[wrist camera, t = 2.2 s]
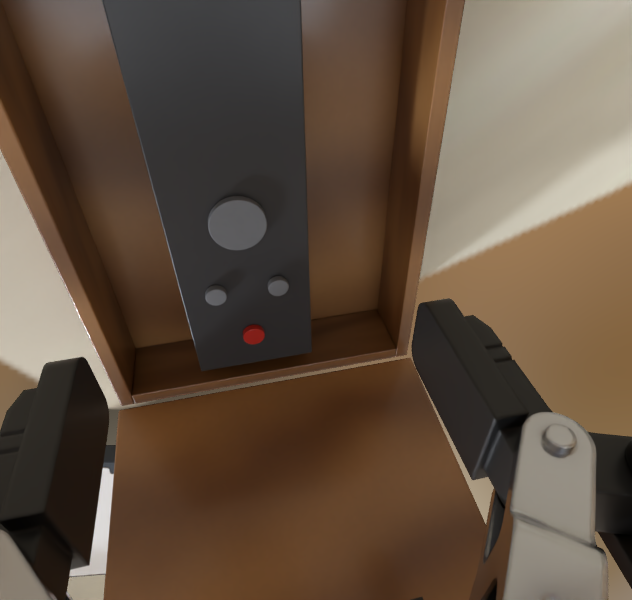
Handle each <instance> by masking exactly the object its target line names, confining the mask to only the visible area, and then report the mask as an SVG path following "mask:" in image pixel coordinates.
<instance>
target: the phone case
mask: <svg viewBox="0 0 632 600" xmlns="http://www.w3.org/2000/svg"><path fill="white" fill-rule="evenodd" d="M115 451H116V445H106V448H105V456H104V463H103V470H102V478H101V485H100V492H99V499H98V507H97V514H96V521H95V529H94V536H93V543H92V550H91V558H90V565H89V566H85V567H80V568H76V569H72V570H70V574H69V577H79V576H92V575H105V574H106V563H107V551H108V538H109V526H110V514H111V501H112V489H113V476H114V464H115Z"/></svg>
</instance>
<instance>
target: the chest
mask: <svg viewBox="0 0 632 600" xmlns="http://www.w3.org/2000/svg"><path fill="white" fill-rule="evenodd" d="M464 2H465V0H301V18H302V51H303V83H304V115H305V147H306V179H307V211H308V243H309V275H310V307H311V340H312V352H310V353H304V354H299V355H293V356H287V357H281V358H276V359H270V360H264V361H258V362H252V363H247V364H241V365H235V366H229V367H224V368H218V369H212V370H206V371H201V368H200V364H199V361H198V357H197V353H196V349H195V346H194V342H193V338H192V335H191V331H190V327H189V323H188V320H187V316H186V312H185V308H184V305H183V301H182V297H181V293H180V290H179V286H178V282H177V279H176V275H175V271H174V267H173V264H172V260H171V256H170V252H169V249H168V245H167V241H166V237H165V234H164V230H163V226H162V223H161V219H160V215H159V211H158V208H157V204H156V200H155V196H154V193H153V189H152V185H151V182H150V178H149V174H148V170H147V167H146V163H145V159H144V155H143V152H142V148H141V144H140V140H139V137H138V133H137V129H136V126H135V122H134V118H133V114H132V111H131V107H130V103H129V99H128V96H127V92H126V88H125V84H124V81H123V77H122V73H121V70H120V66H119V62H118V58H117V55H116V51H115V47H114V43H113V40H112V36H111V32H110V28H109V25H108V21H107V17H106V14H105V10H104V6H103V2H102V0H0V149H1V151H2V153H3V156H4V158H5V160H6V162H7V164H8V166H9V168H10V170H11V173H12V175H13V177H14V179H15V181H16V183H17V185H18V187H19V189H20V192H21V194H22V196H23V198H24V200H25V202H26V204H27V206H28V209H29V211H30V213H31V215H32V217H33V219H34V221H35V223H36V225H37V228H38V230H39V232H40V234H41V236H42V238H43V240H44V242H45V245H46V247H47V249H48V251H49V253H50V255H51V257H52V259H53V261H54V264H55V266H56V268H57V270H58V272H59V274H60V276H61V278H62V281H63V283H64V285H65V287H66V289H67V291H68V293H69V295H70V297H71V300H72V302H73V304H74V306H75V308H76V310H77V312H78V314H79V317H80V319H81V321H82V323H83V325H84V327H85V329H86V331H87V333H88V336H89V338H90V340H91V342H92V344H93V346H94V348H95V350H96V353H97V355H98V357H99V359H100V361H101V363H102V365H103V367H104V369H105V372H106V374H107V376H108V378H109V380H110V382H111V384H112V386H113V389H114V391H115V393H116V395H117V397H118V399H119V401H120V403H121V405H122V406H124V405H130V404H134V403H141V402H147V401H153V400H158V399H164V398H169V397H175V396H180V395H185V394H191V393H197V392H203V391H208V390H214V389H219V388H224V387H230V386H236V385H242V384H247V383H253V382H258V381H264V380H269V379H275V378H280V377H286V376H292V375H297V374H303V373H308V372H314V371H319V370H325V369H330V368H336V367H341V366H347V365H353V364H358V363H364V362H369V361H375V360H381V359H386V358H391V357H395V356H396V357H397V356H403V355H407V350H408V343H409V338H410V332H411V326H412V320H413V313H414V307H415V301H416V295H417V289H418V283H419V277H420V271H421V265H422V259H423V253H424V246H425V240H426V234H427V228H428V222H429V216H430V210H431V204H432V198H433V192H434V185H435V179H436V173H437V167H438V161H439V155H440V149H441V143H442V137H443V131H444V124H445V118H446V112H447V106H448V100H449V94H450V88H451V82H452V76H453V70H454V63H455V57H456V51H457V45H458V39H459V33H460V27H461V21H462V15H463V9H464Z"/></svg>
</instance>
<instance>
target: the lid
mask: <svg viewBox="0 0 632 600" xmlns="http://www.w3.org/2000/svg"><path fill="white" fill-rule="evenodd" d="M485 529H486V524H485V522H484V520H483V518H482V515H481V513H480V511H479V509H478V507H477V504H476V502H475V500H474V498H473V495H472V493H471V491H470V489H469V487H468V484H467V482H466V480H465V477H464V475H463V473H462V471H461V469H460V466H459V464H458V462H457V460H456V457H455V455H454V453H453V451H452V449H451V446H450V444H449V442H448V440H447V437H446V435H445V433H444V431H443V428H442V427H441V424H440V422H439V420H438V417H437V415H436V413H435V411H434V409H433V406H432V404H431V402H430V400H429V398H428V395H427V393H426V391H425V388H424V386H423V384H422V382H421V380H420V378H419V375H418V373H417V371H416V368H415V366H414V364H413V362H412V360H411V358H406V359H400V360H395V361H389V362H384V363H378V364H373V365H367V366H362V367H356V368H351V369H345V370H340V371H334V372H329V373H323V374H317V375H312V376H307V377H301V378H295V379H290V380H285V381H279V382H273V383H268V384H262V385H257V386H251V387H246V388H240V389H235V390H229V391H224V392H218V393H212V394H207V395H201V396H196V397H191V398H185V399H179V400H174V401H169V402H163V403H157V404H152V405H146V406H141V407H135V408H130V409H124V410H120V411H119V415H118V427H117V439H116V451H115V464H114V476H113V489H112V501H111V514H110V526H109V538H108V551H107V563H106V576H105V588H104V600H411V599H415V598H419V597H423V600H469V598H470V594H471V590H472V587H473V584H474V581H475V578H476V574H477V570H478V566H479V561H480V555H481V550H482V545H483V539H484V534H485Z"/></svg>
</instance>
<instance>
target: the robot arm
mask: <svg viewBox="0 0 632 600" xmlns="http://www.w3.org/2000/svg"><path fill="white" fill-rule="evenodd" d="M412 356H413V361H414V364H415V367H416V369H417V371H418V373H419V375H420V377H421V379H422V381H423V383H424V385H425V387H426V389H427V391H428V393H429V395H430V397H431V399H432V401H433V403H434V405H435V407H436V409H437V411H438V413H439V415H440V417H441V419H442V421H443V423H444V425H445V427H446V429H447V431H448V433H449V435H450V437H451V439H452V441H453V443H454V445H455V447H456V449H457V451H458V453H459V454H460V457H461V459H462V461H463V463H464V464H465V467H466V468H467V471H468V473H469V475H470V477H471V479H472V480H476V479H480V478H485V477H489V479H490V481H491V483H492V485H493V486H494V490H493V492H492V497H491V502H490V508H489V513H488V519H487V523H486V529H485V534H484V539H483V545H482V550H481V555H480V561H479V566H478V570H477V574H476V578H475V581H474V584H473V587H472V590H471V594H470V598H469V600H608V562H607V557H606V554H605V552H604V550H603V549H601V548H599V547H597V545H596V542H595V531H597V532H598V533H599V535H600V536H601V538H602V540H603V541H604V543H605V545H606V547H607V548H608V550H609V552H610V553H611V555H612V557H613V558H614V560H615V562H616V563H617V565H618V567H619V568H620V570H621V572H622V573H623V575H624V577H625V578H626V580H627V582H628V583H629V585H630V587H631V588H632V437H628V436H618V435H607V434H598V433H591V432H587V431H586V430H585V429H584V428H583V427H582V426H581V425H579V424H578V423H577V422H575V421H574V420H572V419H570V418H568V417H566V416H564V415H561V414H557V413H553V412H552V411H551V410H550V408H549V407H548V406H547V405H546V403H545V402H544V400H543V399H542V398H541V396H540V395H539V394H538V392H537V391H536V389H535V388H534V387H533V385H532V384H531V383H530V381H529V380H528V378H527V377H526V376H525V374H524V373H523V372H522V370H521V369H520V367H519V366H518V365H517V363H516V362H515V360H512V358H511V355H510V354H509V352H508V351H507V350H506V348H505V347H503V346H502V343H501V341H500V340H499V338H498V337H497V336H496V334H495V333H494V332H493V330H492V329H491V328H490V327H489V326H488V325H486V324H485V323H483V322H482V321H481V320H479V319H478V318H476V317H475V316H474V315H471V316H465V317H464V316H463V315H462V313H461V311H460V310H459V308H458V307H457V305H456V304H455V303H454V301H453V300H451V299H442V300H437V301H430V302H424V303H420V304H419V307H418V310H417V316H416V322H415V328H414V334H413V340H412ZM108 425H109V411H108V405H107V401H106V398H105V396H104V394H103V392H102V390H101V388H100V386H99V384H98V382H97V380H96V378H95V376H94V374H93V372H92V370H91V368H90V366H89V364H88V362H87V360H86V359H85V358H84V357H79V358H73V359H67V360H61V361H55V362H49V363H46V364H45V365H44V367H43V370H42V373H41V376H40V380H39V383H38V387H37V388H35V389H29V390H24V391H23V392H22V393H21V394H20V396H19V397H18V398H17V399H16V401H15V402H14V403H13V404H12V406H11V407H10V408H9V409H8V411H7V412H6V415H5V419H4V421H3V424H2V427H1V430H0V600H73V599H72V598H71V596H70V595H69V593H68V592H67V586H68V580H69V574H70V570H72V569H76V568H80V567H85V566H89V565H90V558H91V550H92V543H93V536H94V529H95V521H96V514H97V507H98V499H99V492H100V485H101V478H102V470H103V463H104V456H105V448H106V441H107V434H108V427H109V426H108ZM411 600H423V597H419V598H415V599H411Z"/></svg>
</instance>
